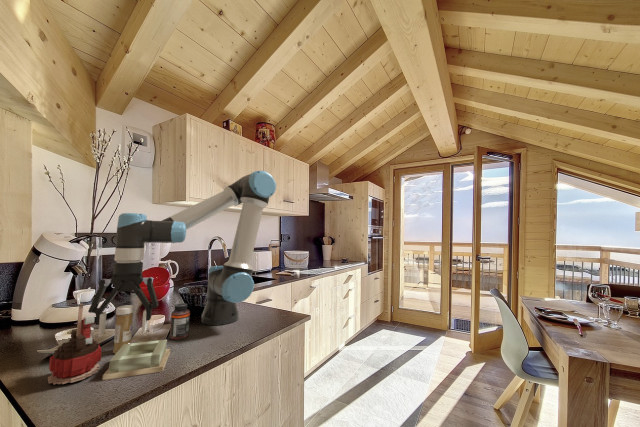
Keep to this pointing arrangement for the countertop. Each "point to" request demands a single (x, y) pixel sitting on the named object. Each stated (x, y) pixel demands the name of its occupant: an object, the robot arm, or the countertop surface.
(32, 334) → the countertop surface
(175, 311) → the supplement bottle
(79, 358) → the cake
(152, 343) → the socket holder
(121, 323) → the sprinkles bottle
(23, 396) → the countertop surface
